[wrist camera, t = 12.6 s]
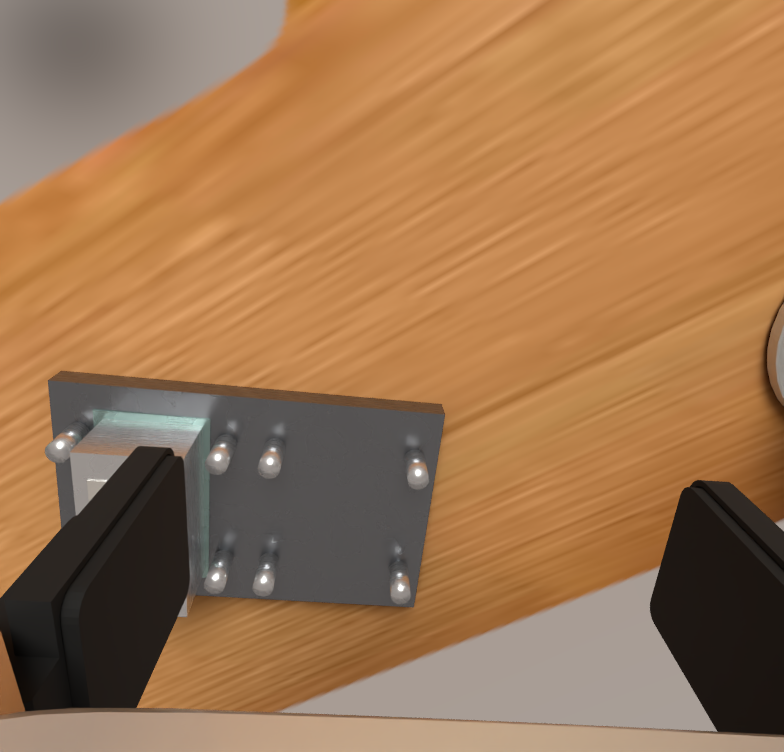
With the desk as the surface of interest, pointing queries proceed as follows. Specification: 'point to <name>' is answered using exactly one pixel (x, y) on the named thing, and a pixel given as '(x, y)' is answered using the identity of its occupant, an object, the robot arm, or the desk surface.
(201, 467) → the block
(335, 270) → the desk surface
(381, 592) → the tray
